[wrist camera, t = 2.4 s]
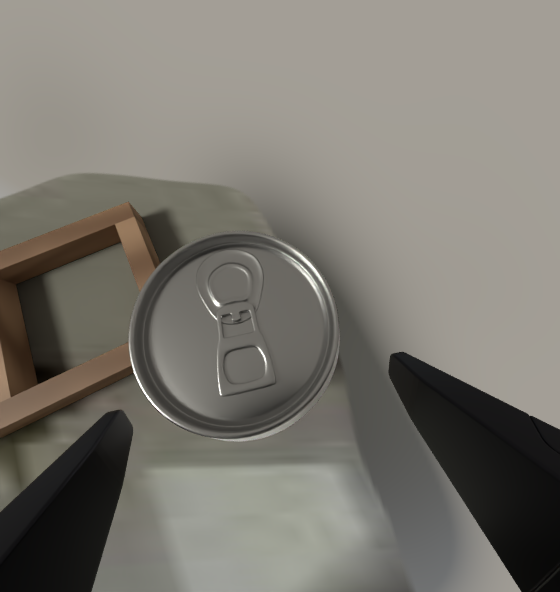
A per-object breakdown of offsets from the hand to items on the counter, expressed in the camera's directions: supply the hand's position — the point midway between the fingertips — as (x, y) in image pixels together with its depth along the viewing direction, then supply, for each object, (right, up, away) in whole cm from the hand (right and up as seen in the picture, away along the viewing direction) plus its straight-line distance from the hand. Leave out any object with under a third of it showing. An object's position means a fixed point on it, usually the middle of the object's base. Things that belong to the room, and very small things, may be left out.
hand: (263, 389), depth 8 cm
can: (-1, -1, +10) cm, 10 cm away
